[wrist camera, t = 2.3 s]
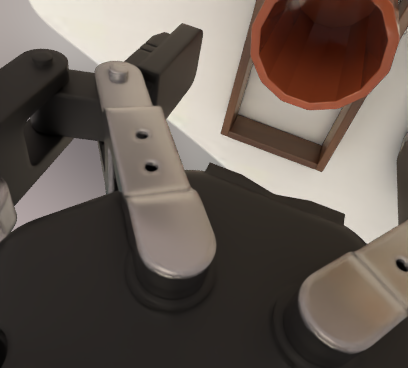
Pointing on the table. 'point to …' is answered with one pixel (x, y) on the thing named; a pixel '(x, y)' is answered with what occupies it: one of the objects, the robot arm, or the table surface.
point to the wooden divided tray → (278, 139)
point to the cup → (324, 49)
